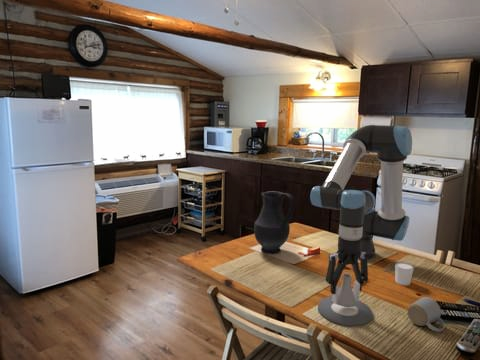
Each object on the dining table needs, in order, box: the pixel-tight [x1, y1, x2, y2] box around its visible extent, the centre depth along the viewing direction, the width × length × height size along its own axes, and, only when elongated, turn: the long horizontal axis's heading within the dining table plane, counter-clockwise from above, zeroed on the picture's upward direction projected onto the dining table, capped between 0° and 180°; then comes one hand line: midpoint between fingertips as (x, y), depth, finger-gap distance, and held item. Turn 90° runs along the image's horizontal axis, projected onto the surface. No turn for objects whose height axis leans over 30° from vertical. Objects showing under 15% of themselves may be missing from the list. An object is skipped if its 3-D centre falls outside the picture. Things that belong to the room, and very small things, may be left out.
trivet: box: [317, 295, 373, 327], centre depth 129 cm, size 18×18×1 cm
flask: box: [337, 272, 356, 307], centre depth 128 cm, size 7×7×10 cm
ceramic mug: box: [406, 296, 446, 333], centre depth 122 cm, size 11×8×8 cm
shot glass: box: [394, 262, 414, 286], centre depth 152 cm, size 7×7×7 cm
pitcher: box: [253, 190, 296, 255], centre depth 181 cm, size 17×21×30 cm
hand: (345, 300), depth 129 cm, fingers closed on flask, 7 cm apart
